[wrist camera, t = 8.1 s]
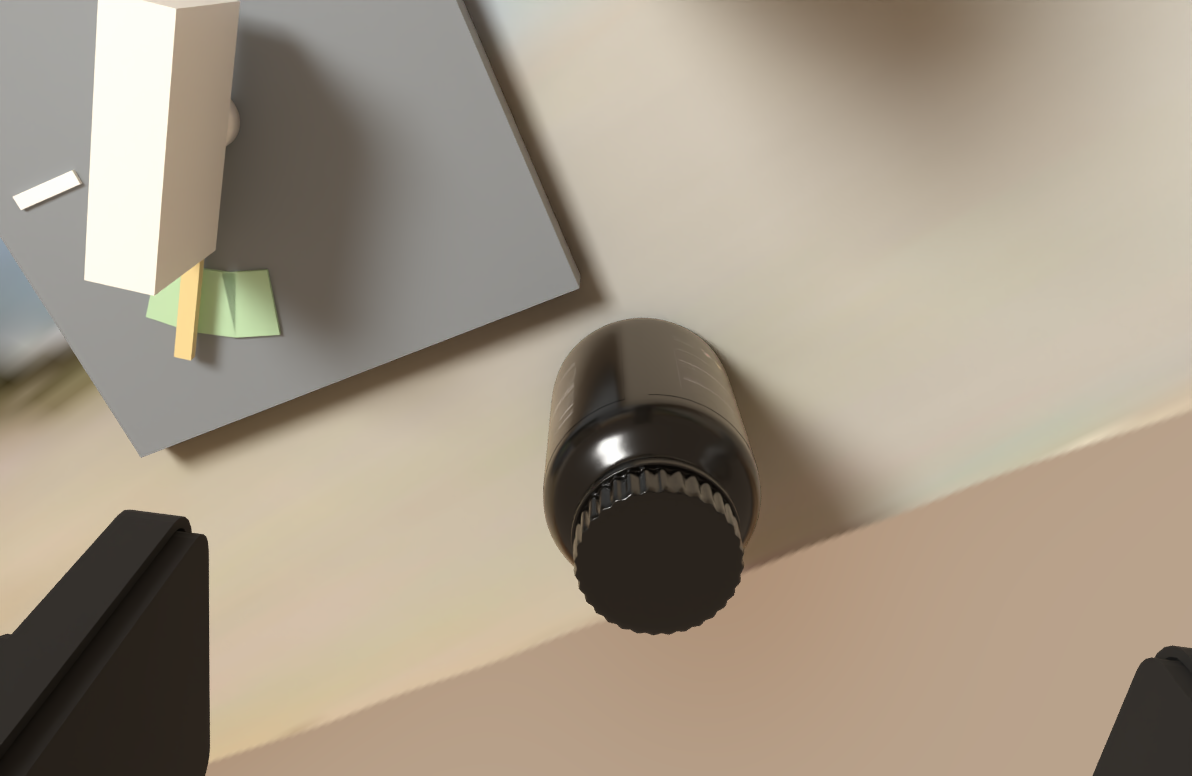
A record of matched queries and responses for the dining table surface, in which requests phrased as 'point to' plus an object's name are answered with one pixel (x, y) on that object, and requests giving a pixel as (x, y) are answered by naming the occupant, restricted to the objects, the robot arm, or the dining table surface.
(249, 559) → the dining table surface
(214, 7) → the white ice pop
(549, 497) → the supplement bottle
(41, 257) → the slate dial board
